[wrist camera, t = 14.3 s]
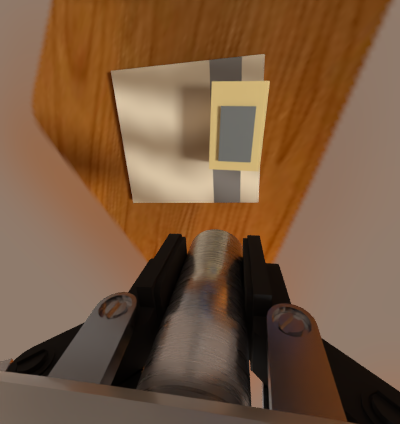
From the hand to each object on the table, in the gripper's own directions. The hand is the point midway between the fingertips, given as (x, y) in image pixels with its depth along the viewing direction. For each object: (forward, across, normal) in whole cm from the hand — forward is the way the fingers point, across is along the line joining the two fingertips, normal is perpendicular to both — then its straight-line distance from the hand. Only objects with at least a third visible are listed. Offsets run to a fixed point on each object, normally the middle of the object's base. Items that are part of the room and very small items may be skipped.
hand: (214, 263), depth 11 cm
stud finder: (+15, -1, -6) cm, 16 cm away
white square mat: (+16, +4, -5) cm, 17 cm away
